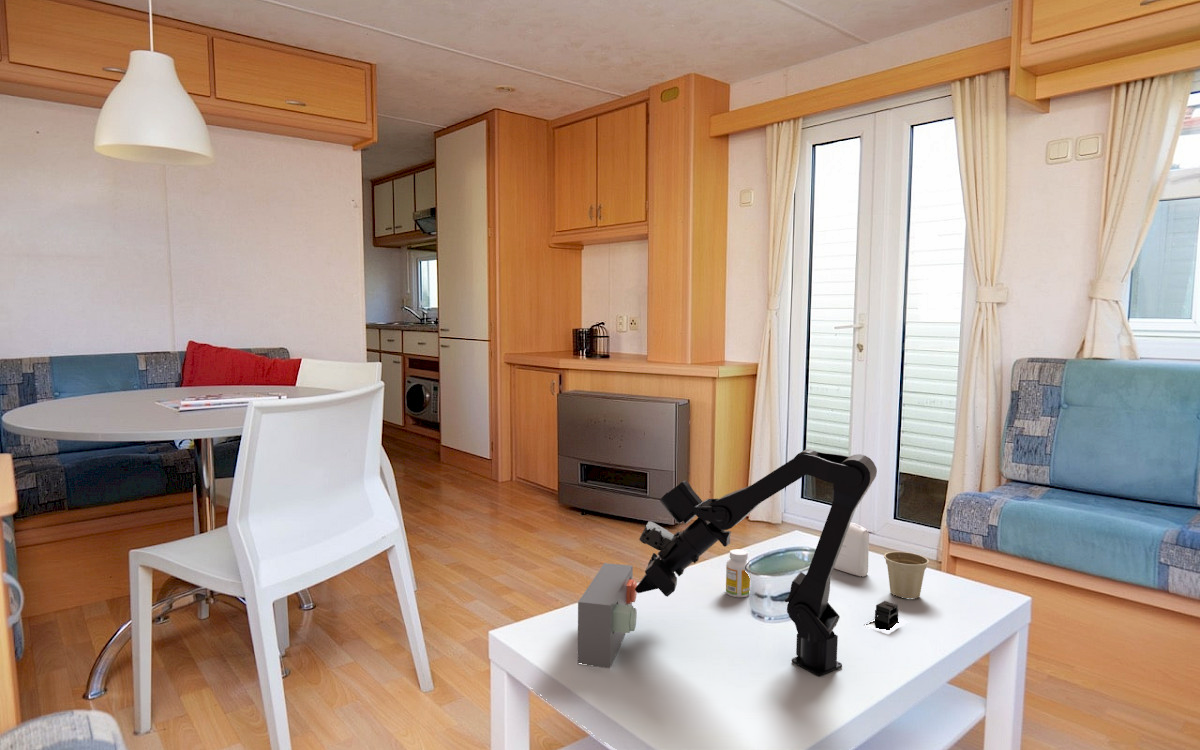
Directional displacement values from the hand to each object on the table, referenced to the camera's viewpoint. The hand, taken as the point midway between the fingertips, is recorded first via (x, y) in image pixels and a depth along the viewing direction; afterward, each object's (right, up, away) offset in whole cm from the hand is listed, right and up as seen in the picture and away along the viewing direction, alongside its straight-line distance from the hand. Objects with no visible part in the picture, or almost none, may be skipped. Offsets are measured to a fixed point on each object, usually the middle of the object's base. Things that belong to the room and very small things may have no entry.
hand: (636, 590), depth 140 cm
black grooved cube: (+52, -9, +4) cm, 53 cm away
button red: (-3, -2, +1) cm, 3 cm away
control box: (-6, -8, -5) cm, 11 cm away
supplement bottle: (+24, -7, +20) cm, 32 cm away
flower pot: (+62, -7, +20) cm, 66 cm away
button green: (-3, -3, -12) cm, 13 cm away
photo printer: (+55, -6, +35) cm, 65 cm away
